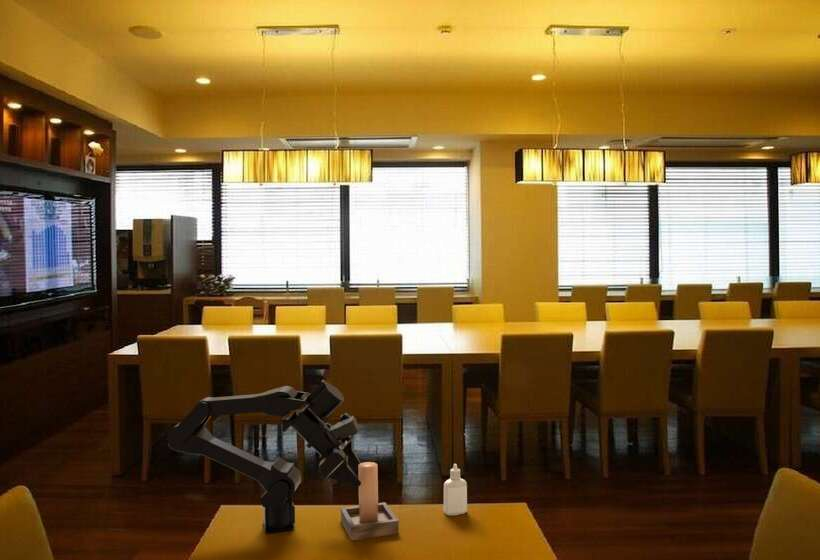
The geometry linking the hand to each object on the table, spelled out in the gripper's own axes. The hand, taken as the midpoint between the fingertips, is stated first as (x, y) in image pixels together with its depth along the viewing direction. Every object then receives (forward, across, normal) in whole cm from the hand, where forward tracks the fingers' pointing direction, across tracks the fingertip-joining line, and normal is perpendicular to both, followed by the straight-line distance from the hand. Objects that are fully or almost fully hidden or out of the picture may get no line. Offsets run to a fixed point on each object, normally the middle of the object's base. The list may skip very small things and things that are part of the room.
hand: (361, 477), depth 147 cm
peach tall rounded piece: (+8, 0, +6) cm, 10 cm away
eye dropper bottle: (+24, +8, -8) cm, 26 cm away
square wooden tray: (+9, 0, +7) cm, 12 cm away
